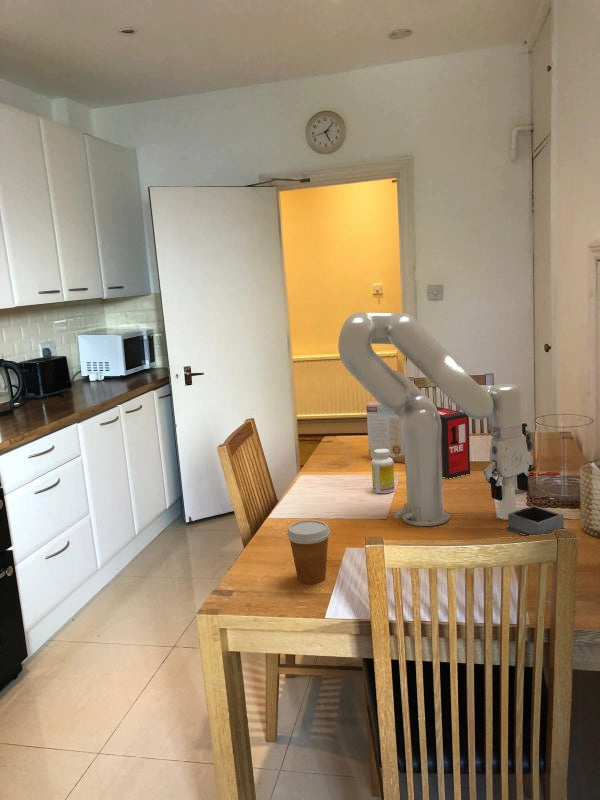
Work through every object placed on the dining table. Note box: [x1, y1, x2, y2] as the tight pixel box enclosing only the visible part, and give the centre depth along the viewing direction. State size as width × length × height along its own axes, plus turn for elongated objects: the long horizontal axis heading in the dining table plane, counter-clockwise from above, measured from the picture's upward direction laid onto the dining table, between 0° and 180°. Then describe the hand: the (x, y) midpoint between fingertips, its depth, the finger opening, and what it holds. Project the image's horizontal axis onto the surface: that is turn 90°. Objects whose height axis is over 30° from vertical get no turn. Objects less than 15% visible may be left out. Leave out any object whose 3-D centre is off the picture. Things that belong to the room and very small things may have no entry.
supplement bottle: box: [370, 449, 396, 495], centre depth 203 cm, size 7×7×13 cm
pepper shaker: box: [496, 477, 518, 521], centre depth 176 cm, size 5×5×11 cm
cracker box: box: [365, 400, 405, 464], centre depth 236 cm, size 14×6×21 cm, turn 58°
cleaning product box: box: [435, 405, 471, 480], centre depth 218 cm, size 16×9×20 cm, turn 26°
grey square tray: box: [505, 505, 567, 537], centre depth 166 cm, size 10×10×4 cm
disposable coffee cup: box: [286, 519, 331, 585], centre depth 148 cm, size 10×10×12 cm
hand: (510, 494), depth 175 cm, fingers open, 9 cm apart
